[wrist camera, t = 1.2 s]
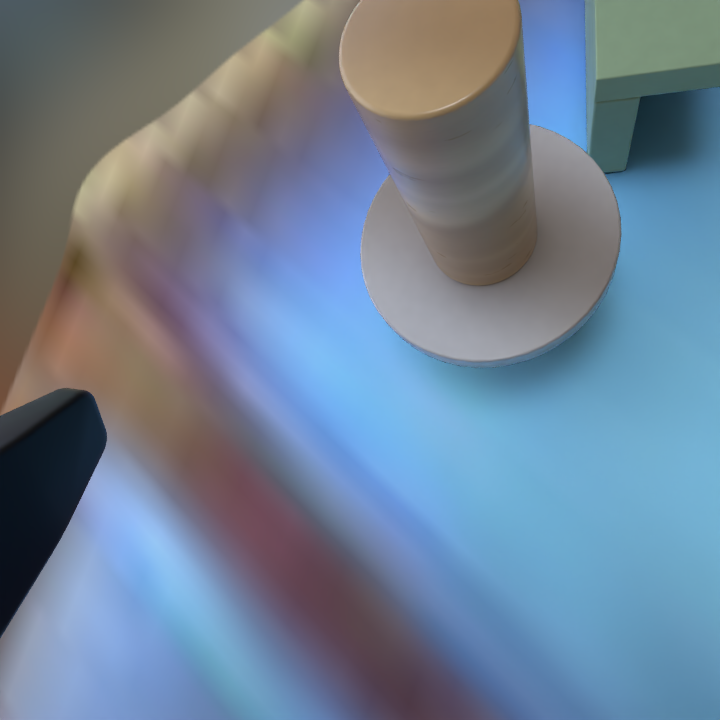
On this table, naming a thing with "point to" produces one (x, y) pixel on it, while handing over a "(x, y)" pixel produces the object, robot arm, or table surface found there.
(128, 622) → the table surface
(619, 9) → the rack
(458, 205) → the cylinder on round base
